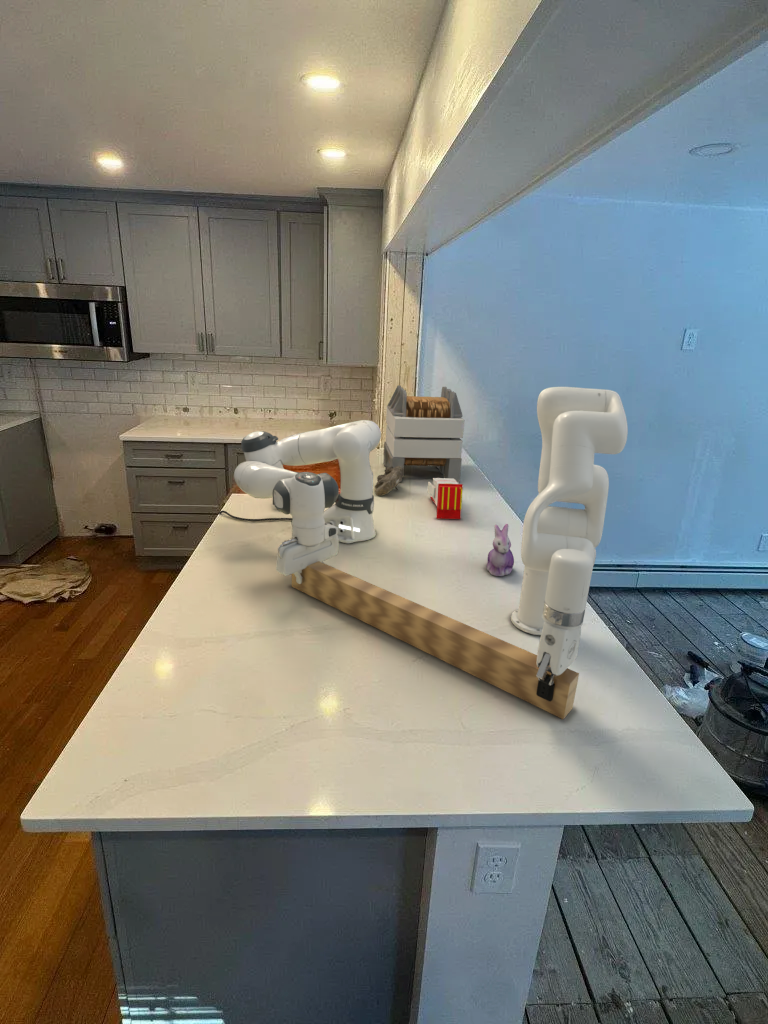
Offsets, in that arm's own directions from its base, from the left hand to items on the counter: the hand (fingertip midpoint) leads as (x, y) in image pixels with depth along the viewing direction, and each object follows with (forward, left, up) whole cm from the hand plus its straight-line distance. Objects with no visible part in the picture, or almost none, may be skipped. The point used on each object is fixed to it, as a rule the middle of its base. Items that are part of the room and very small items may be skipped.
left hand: (308, 579), depth 157 cm
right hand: (+65, -29, 0) cm, 71 cm away
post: (+33, -15, -3) cm, 36 cm away
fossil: (-4, +98, -3) cm, 98 cm away
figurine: (+50, +32, -3) cm, 59 cm away
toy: (+23, +84, -3) cm, 87 cm away
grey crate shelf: (+3, +129, -3) cm, 129 cm away
